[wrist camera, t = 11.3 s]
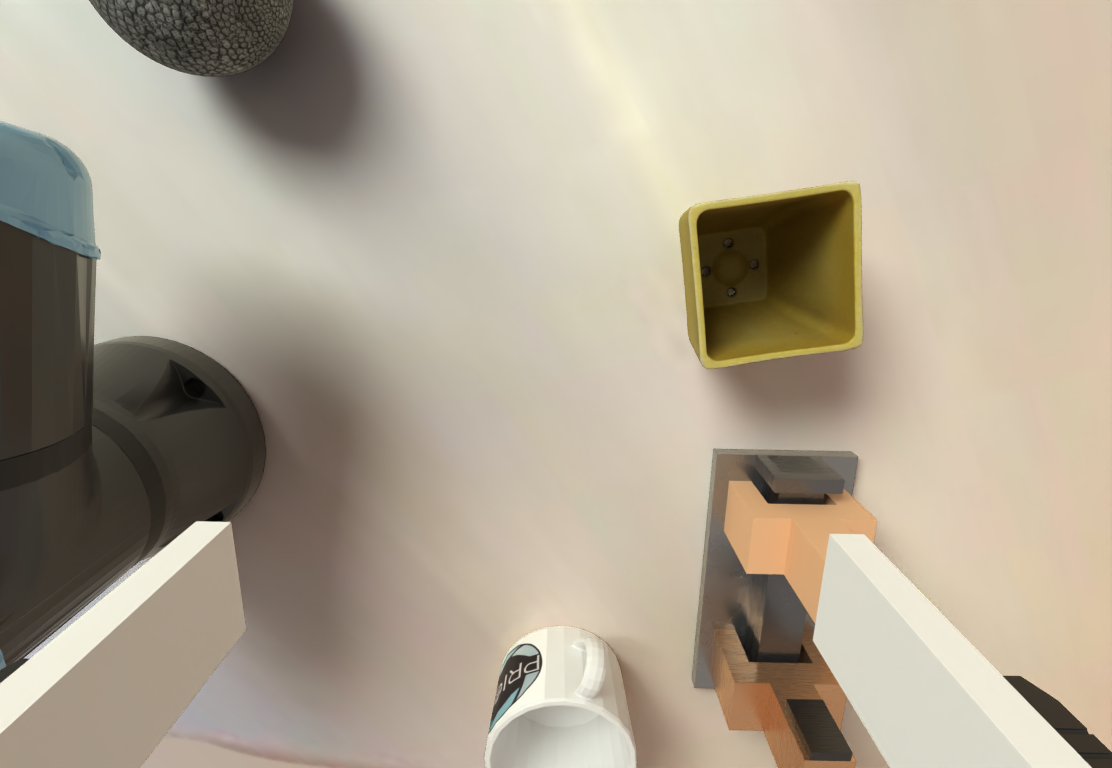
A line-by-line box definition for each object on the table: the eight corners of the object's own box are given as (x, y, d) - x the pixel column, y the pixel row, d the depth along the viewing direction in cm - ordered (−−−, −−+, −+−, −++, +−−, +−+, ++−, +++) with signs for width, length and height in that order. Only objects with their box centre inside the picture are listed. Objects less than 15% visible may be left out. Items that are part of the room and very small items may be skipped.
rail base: (691, 678, 48) (735, 830, 36) (713, 448, 43) (773, 537, 31) (814, 680, 48) (899, 834, 36) (851, 451, 43) (965, 541, 31)
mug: (600, 741, 50) (607, 837, 42) (480, 709, 49) (465, 800, 41) (656, 611, 47) (675, 689, 39) (528, 574, 46) (522, 646, 38)
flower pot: (794, 188, 38) (863, 178, 30) (799, 321, 40) (864, 348, 32) (658, 208, 39) (687, 205, 30) (670, 339, 41) (701, 371, 32)
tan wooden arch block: (837, 482, 42) (935, 575, 31) (828, 540, 44) (920, 648, 33) (729, 480, 42) (789, 572, 31) (722, 538, 44) (778, 645, 33)
